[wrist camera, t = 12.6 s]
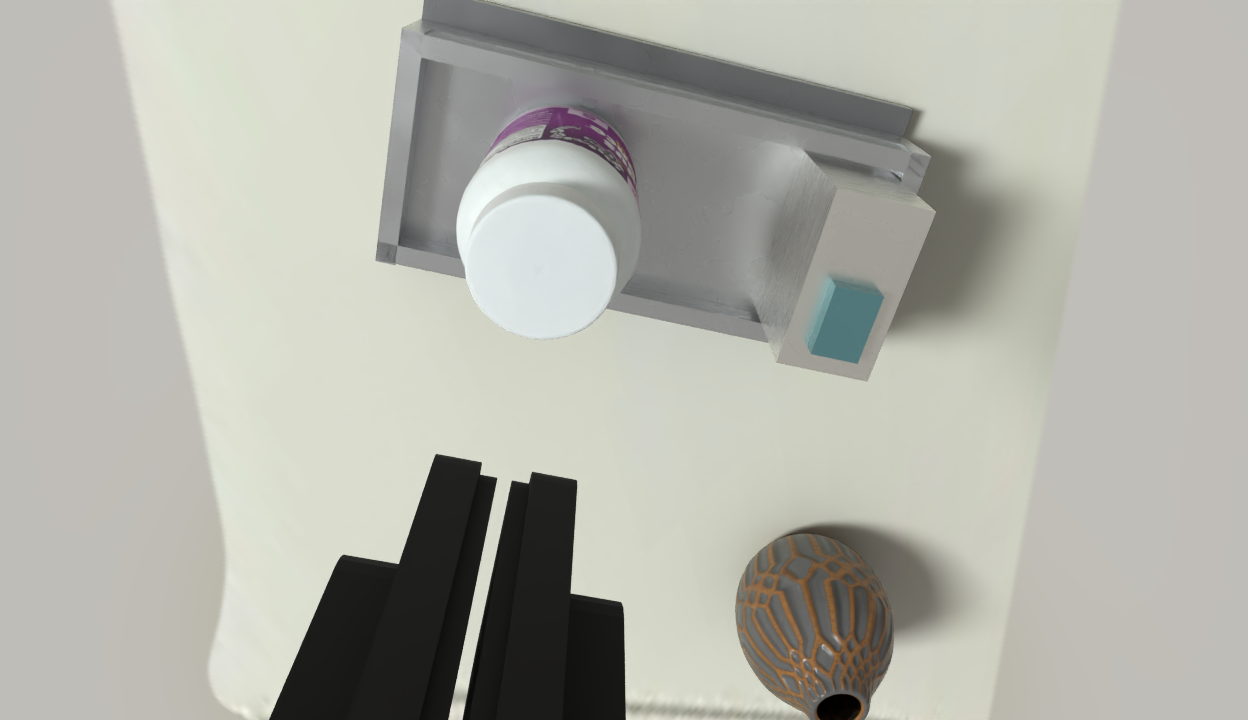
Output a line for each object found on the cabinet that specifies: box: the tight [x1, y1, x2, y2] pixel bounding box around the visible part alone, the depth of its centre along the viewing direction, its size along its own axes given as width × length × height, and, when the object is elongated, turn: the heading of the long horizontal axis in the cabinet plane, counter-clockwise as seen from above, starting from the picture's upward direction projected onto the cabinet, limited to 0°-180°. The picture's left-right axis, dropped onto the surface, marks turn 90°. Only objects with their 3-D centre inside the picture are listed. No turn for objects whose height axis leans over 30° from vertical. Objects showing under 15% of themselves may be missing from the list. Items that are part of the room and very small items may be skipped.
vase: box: [735, 534, 894, 720], centre depth 38 cm, size 7×7×9 cm
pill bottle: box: [456, 104, 642, 340], centre depth 26 cm, size 5×5×10 cm
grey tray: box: [376, 0, 936, 381], centre depth 30 cm, size 10×18×8 cm, turn 77°
